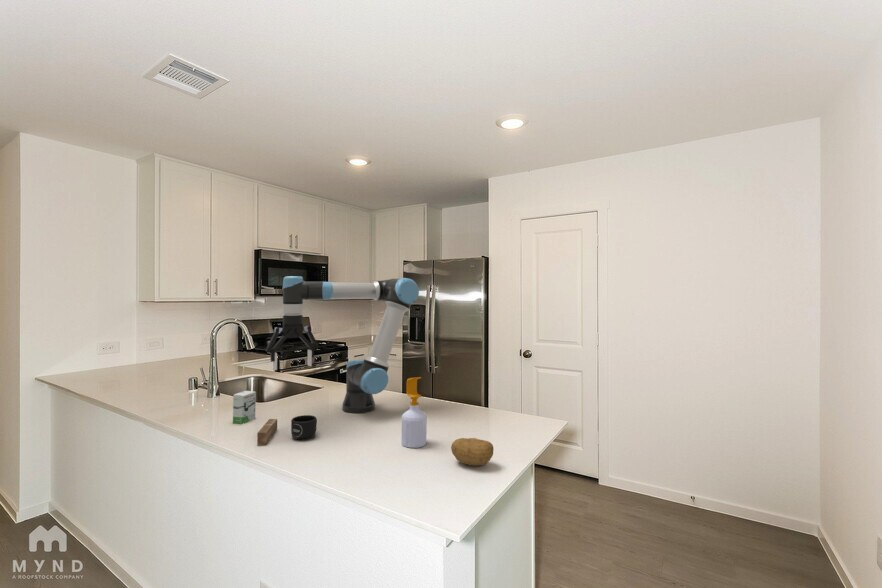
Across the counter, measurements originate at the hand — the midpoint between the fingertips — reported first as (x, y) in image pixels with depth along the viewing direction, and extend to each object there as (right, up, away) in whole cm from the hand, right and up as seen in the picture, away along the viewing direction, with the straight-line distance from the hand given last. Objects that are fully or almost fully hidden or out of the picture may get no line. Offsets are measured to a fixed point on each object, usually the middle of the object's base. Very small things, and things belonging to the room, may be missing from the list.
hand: (292, 367), depth 163 cm
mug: (+8, -25, -8) cm, 27 cm away
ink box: (-24, -24, +9) cm, 35 cm away
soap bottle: (+50, -25, -15) cm, 58 cm away
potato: (+69, -26, -32) cm, 81 cm away
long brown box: (-6, -24, -10) cm, 27 cm away
